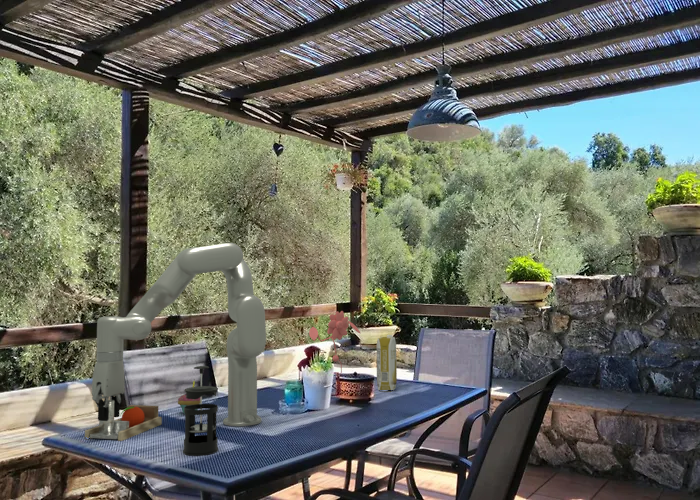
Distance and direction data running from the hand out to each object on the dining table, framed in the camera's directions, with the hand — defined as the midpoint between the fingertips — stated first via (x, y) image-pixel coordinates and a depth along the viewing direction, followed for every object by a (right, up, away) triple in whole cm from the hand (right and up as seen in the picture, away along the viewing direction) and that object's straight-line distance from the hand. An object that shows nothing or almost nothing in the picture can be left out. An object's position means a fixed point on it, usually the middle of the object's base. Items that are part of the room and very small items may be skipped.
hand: (108, 418), depth 179 cm
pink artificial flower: (+68, -11, +73) cm, 100 cm away
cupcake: (+15, -8, +35) cm, 39 cm away
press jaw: (0, -6, 0) cm, 5 cm away
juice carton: (+89, -11, +82) cm, 121 cm away
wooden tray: (+2, -6, +8) cm, 10 cm away
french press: (+31, -5, -16) cm, 35 cm away
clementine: (+3, -7, +11) cm, 13 cm away
